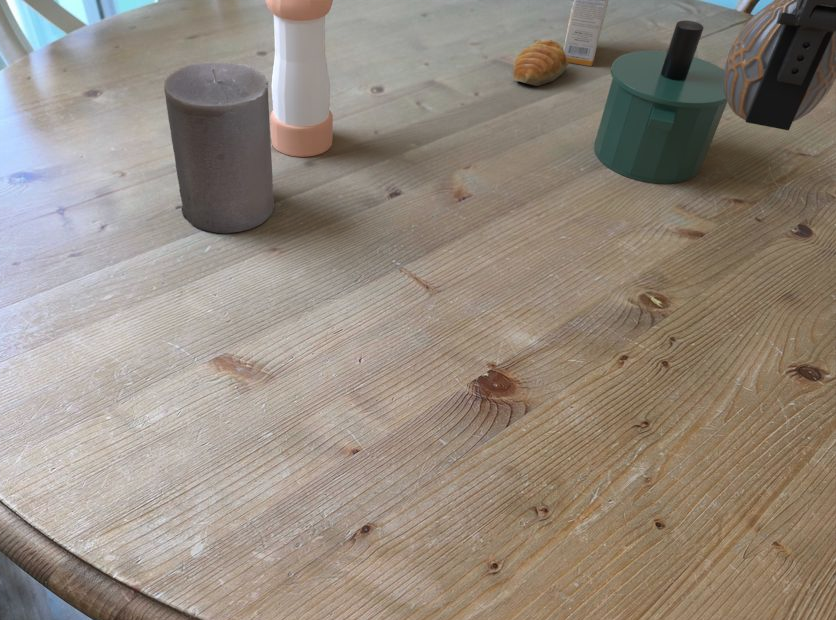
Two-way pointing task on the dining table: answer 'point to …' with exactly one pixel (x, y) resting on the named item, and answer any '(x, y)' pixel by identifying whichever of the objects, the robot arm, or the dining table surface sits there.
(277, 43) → the salt shaker
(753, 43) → the vase
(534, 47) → the pastry
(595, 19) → the supplement box
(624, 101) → the pot
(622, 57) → the lid
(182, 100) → the pillar candle
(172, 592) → the dining table surface
